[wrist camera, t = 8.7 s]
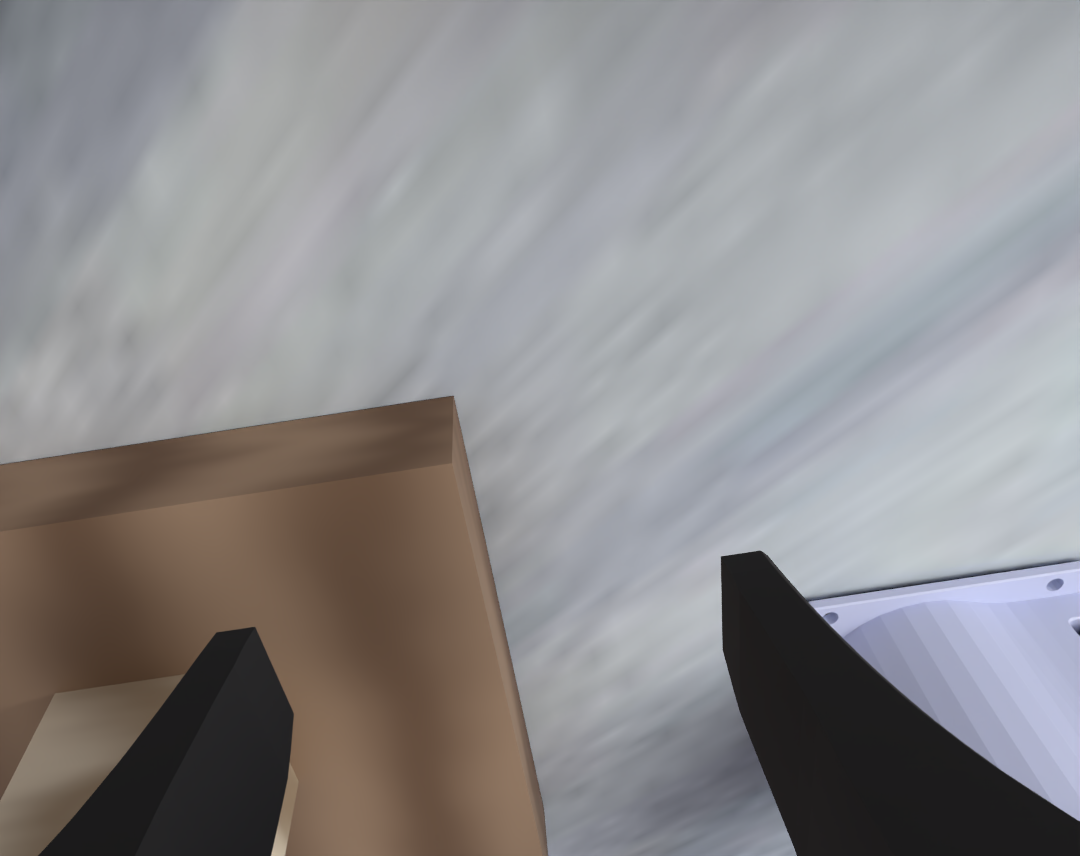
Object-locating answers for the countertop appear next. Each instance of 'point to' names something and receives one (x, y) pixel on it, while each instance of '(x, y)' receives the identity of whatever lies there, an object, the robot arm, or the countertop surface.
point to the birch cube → (87, 761)
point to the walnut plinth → (289, 613)
